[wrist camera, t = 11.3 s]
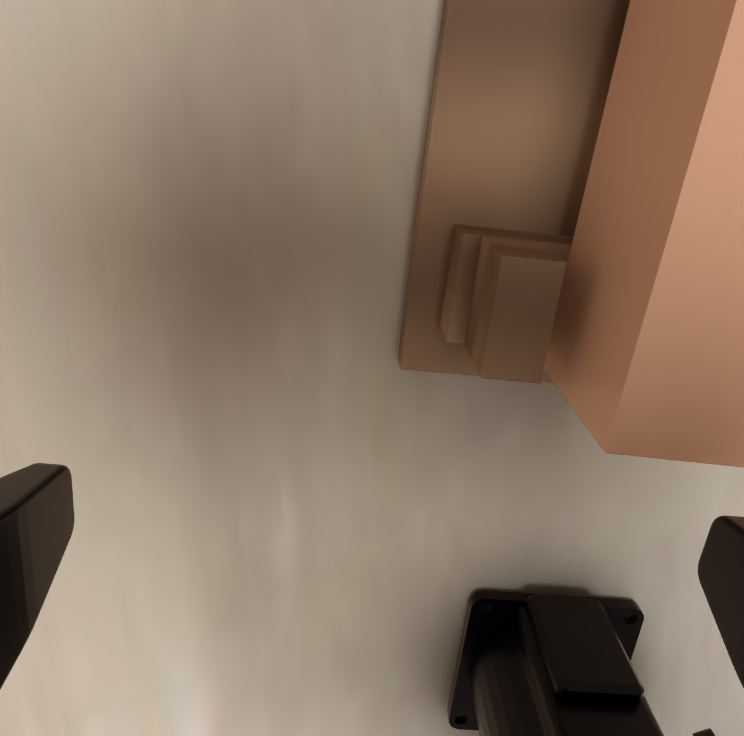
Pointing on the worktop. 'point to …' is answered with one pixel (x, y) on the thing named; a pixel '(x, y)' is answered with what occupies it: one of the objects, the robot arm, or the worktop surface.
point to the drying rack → (504, 180)
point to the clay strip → (662, 245)
